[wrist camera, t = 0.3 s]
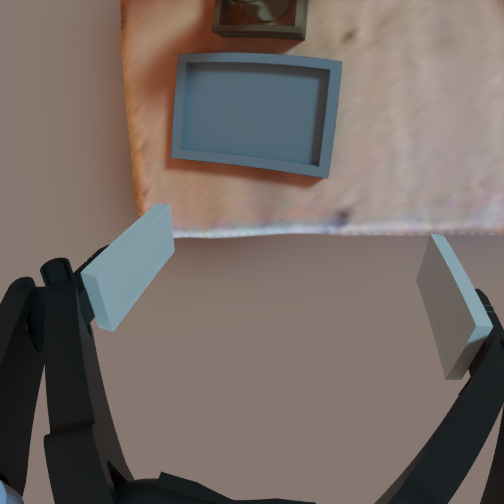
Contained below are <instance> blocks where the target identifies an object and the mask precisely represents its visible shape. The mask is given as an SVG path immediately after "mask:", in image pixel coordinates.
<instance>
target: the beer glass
mask: <svg viewBox="0 0 504 504" xmlns="http://www.w3.org/2000/svg"><path fill="white" fill-rule="evenodd" d="M230 1H232V2H234V3H237V4H239V5H241V6H242V8H243V10H244V12H245V13H246V15H247V16H249V17H250V18H252V19H254V20H257V21H262V22H267V21H272V20H275V19H277V18H279V17H281V16H282V15H283V14H284V13H285V12H286V11H287V9H288V7H289V3H290V0H230Z"/></svg>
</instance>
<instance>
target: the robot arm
mask: <svg viewBox="0 0 504 504" xmlns="http://www.w3.org/2000/svg"><path fill="white" fill-rule="evenodd" d="M174 251H175V249H174V241H173V232H172V222H171V212H170V205H167V204H156V205H155V206H154V207H152V208H151V209H150V210H149V211H148V212H146V213H145V214H144V215H143V216H142V217H141V218H140V219H138V220H137V221H136V222H135V223H134V224H133V225H131V226H130V227H129V228H128V229H127V230H126V231H125V232H124V233H123V234H121V235H120V236H119V237H118V238H117V239H116V240H115V241H114V242H113V243H112V244H110V245H107V246H105V247H103V248H101V249H99V250H98V251H97V252H96V253H94V254H93V255H92V257H90V258H89V259H88V260H87V262H85V263H84V264H83V265H82V266H81V267H79V268H78V270H76V271H75V272H74V273H73V272H72V268H71V265H70V262H69V260H68V259H66V258H61V257H60V258H55V259H52V260H50V261H48V262H46V263H45V264H44V265H43V266H42V267H41V269H40V272H41V275H42V278H43V281H44V283H45V286H46V287H36V285H35V283H34V280H33V278H31V277H21V278H19V279H17V280H15V281H14V282H13V283H12V284H11V285H10V286H9V288H8V290H7V292H6V294H5V296H4V298H3V300H2V302H1V303H0V504H24V502H23V499H22V496H23V492H24V488H25V483H26V476H27V468H28V457H29V449H30V440H31V432H32V426H33V420H34V413H35V408H36V402H37V397H38V392H39V387H40V382H41V377H42V373H43V368H44V364H45V379H46V393H47V405H48V415H49V424H50V434H48V435H45V436H44V449H45V456H46V462H47V468H48V473H49V479H50V484H51V488H52V493H53V498H54V502H55V504H316V503H314V502H302V501H293V500H285V499H277V498H276V499H261V500H232V499H229V498H227V497H225V496H223V495H221V494H219V493H217V492H215V491H213V490H211V489H209V488H207V487H205V486H203V485H201V484H199V483H197V482H194V481H191V480H187V479H184V478H180V477H177V476H173V475H170V474H167V473H164V472H161V474H160V476H159V478H158V479H139V480H134V478H133V476H132V474H131V472H130V470H129V468H128V466H127V464H126V462H125V459H124V456H123V454H122V450H121V447H120V444H119V441H118V437H117V434H116V431H115V428H114V424H113V420H112V417H111V413H110V409H109V406H108V402H107V398H106V394H105V389H104V385H103V381H102V377H101V372H100V367H99V362H98V358H97V353H96V347H95V342H94V336H93V331H92V327H91V324H90V322H91V321H92V320H93V318H94V317H95V319H96V322H97V324H98V327H99V328H102V329H105V330H109V331H114V330H115V329H116V327H117V326H118V324H119V323H120V322H121V320H122V319H123V318H124V316H125V315H126V314H127V312H128V311H129V310H130V308H131V307H132V306H133V304H134V303H135V302H136V300H137V299H138V298H139V296H140V295H141V294H142V292H143V291H144V290H145V288H146V287H147V286H148V285H149V283H150V282H151V281H152V279H153V278H154V277H155V275H156V274H157V273H158V272H159V270H160V269H161V268H162V266H163V265H164V264H165V263H166V261H167V260H168V259H169V258H170V256H171V255H172V254H173V253H174ZM416 281H417V284H418V287H419V290H420V293H421V296H422V299H423V302H424V305H425V308H426V311H427V314H428V317H429V321H430V324H431V328H432V331H433V334H434V338H435V341H436V345H437V348H438V352H439V356H440V360H441V364H442V368H443V372H444V376H445V379H447V380H449V379H450V380H456V379H457V380H460V379H462V378H463V376H464V375H465V373H466V372H467V370H469V373H470V376H471V377H470V379H469V380H468V382H467V383H466V384H465V386H464V387H463V389H462V390H461V391H460V393H459V394H458V395H459V396H458V398H457V399H456V401H455V403H454V404H453V406H452V407H451V409H450V410H449V412H448V413H447V415H446V416H445V418H444V419H443V421H442V422H441V424H440V425H439V427H438V428H437V429H436V431H435V432H434V433H433V435H432V436H431V438H430V439H429V440H428V442H427V443H426V444H425V446H424V447H423V448H422V449H421V451H420V452H419V453H418V455H417V456H416V457H415V458H414V460H413V461H412V462H411V463H410V465H409V466H408V467H407V468H406V469H405V470H404V472H403V473H402V474H401V475H400V476H399V477H398V479H397V480H396V481H395V482H394V483H393V484H392V485H391V486H390V488H389V489H388V490H387V491H386V492H385V493H384V494H383V495H382V496H381V497H380V498H379V499H378V500H377V501H376V502H375V504H448V502H449V501H450V499H451V498H452V497H453V495H454V494H455V492H456V491H457V489H458V488H459V486H460V484H461V483H462V481H463V480H464V478H465V477H466V475H467V473H468V472H469V470H470V468H471V467H472V465H473V463H474V461H475V459H476V458H477V456H478V454H479V452H480V450H481V449H482V447H483V445H484V443H485V441H486V439H487V437H488V435H489V433H490V431H491V429H492V427H493V425H494V423H495V421H496V419H497V417H498V415H499V412H500V410H501V408H502V406H503V403H504V330H503V327H502V325H501V323H500V321H499V319H498V317H497V315H496V313H494V309H493V307H492V306H491V304H490V302H489V300H488V298H487V296H485V294H484V293H483V292H482V291H481V290H480V289H474V287H473V285H472V283H471V282H470V280H469V278H468V276H467V274H466V273H465V271H464V269H463V267H462V266H461V264H460V262H459V260H458V259H457V257H456V255H455V254H454V252H453V250H452V249H451V247H450V245H449V244H448V242H447V240H446V239H445V237H444V236H442V235H435V234H430V236H429V240H428V244H427V247H426V251H425V255H424V258H423V261H422V264H421V267H420V270H419V274H418V277H417V280H416ZM480 504H504V406H503V413H502V419H501V424H500V430H499V435H498V440H497V444H496V449H495V454H494V457H493V462H492V465H491V469H490V473H489V476H488V480H487V483H486V487H485V490H484V493H483V496H482V499H481V502H480Z"/></svg>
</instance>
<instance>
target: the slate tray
mask: <svg viewBox="0 0 504 504" xmlns="http://www.w3.org/2000/svg"><path fill="white" fill-rule="evenodd" d="M341 70H342V61H335V60H328V59H320V58H312V57H302V56H292V55H279V54H262V53H190V54H178V64H177V75H176V87H175V100H174V115H173V133H172V157H171V158H176V159H187V160H197V161H207V162H216V163H225V164H233V165H241V166H249V167H256V168H264V169H271V170H278V171H284V172H291V173H297V174H303V175H309V176H315V177H321V178H327V179H328V175H329V169H330V162H331V155H332V147H333V140H334V132H335V124H336V116H337V108H338V99H339V90H340V80H341Z"/></svg>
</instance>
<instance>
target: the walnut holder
mask: <svg viewBox="0 0 504 504" xmlns="http://www.w3.org/2000/svg"><path fill="white" fill-rule="evenodd" d="M231 4H232V1H230V0H215V7H214V15H213V24H212V32H214V33H215V34H217V35H219V36H221V37H260V38H281V39H295V40H305V34H306V22H307V10H308V0H297V7H296V18H295V27H294V26H278V25H229V22H230V13H231Z"/></svg>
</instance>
